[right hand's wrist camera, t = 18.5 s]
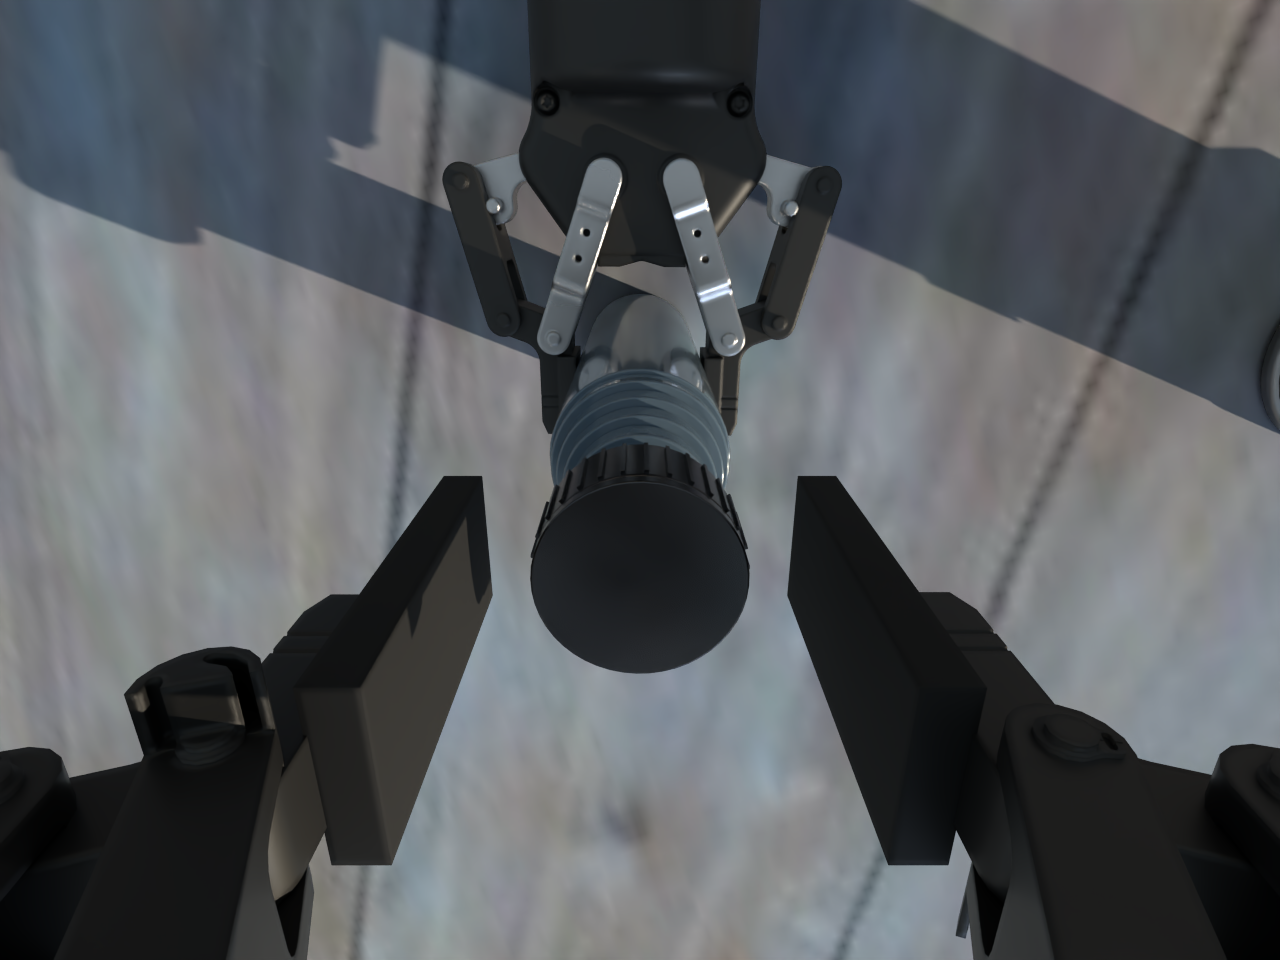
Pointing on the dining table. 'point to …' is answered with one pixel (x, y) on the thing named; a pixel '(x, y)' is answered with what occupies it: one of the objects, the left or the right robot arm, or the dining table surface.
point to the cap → (639, 560)
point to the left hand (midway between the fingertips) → (640, 441)
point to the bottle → (640, 390)
